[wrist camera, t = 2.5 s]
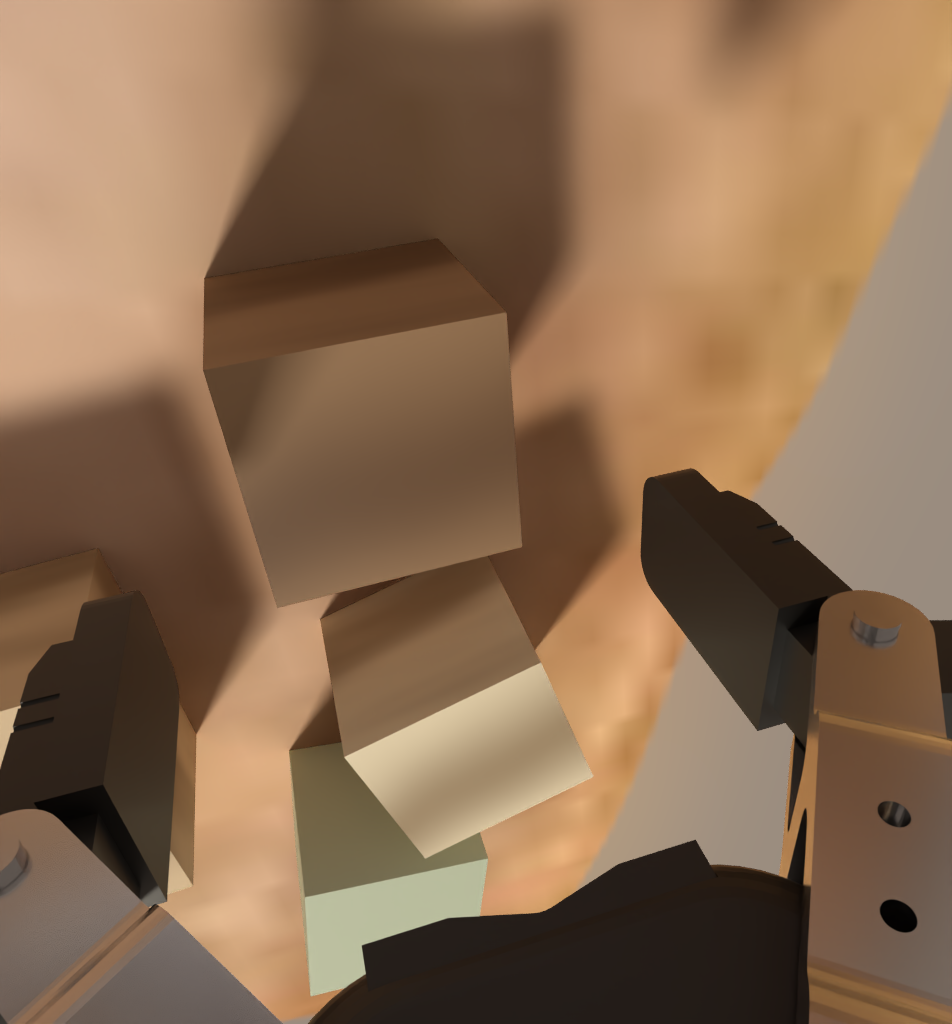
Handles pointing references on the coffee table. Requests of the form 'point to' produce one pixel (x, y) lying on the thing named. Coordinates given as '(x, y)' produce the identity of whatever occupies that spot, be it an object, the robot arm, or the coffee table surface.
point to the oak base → (53, 619)
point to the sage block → (366, 869)
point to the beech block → (447, 705)
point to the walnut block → (365, 415)
